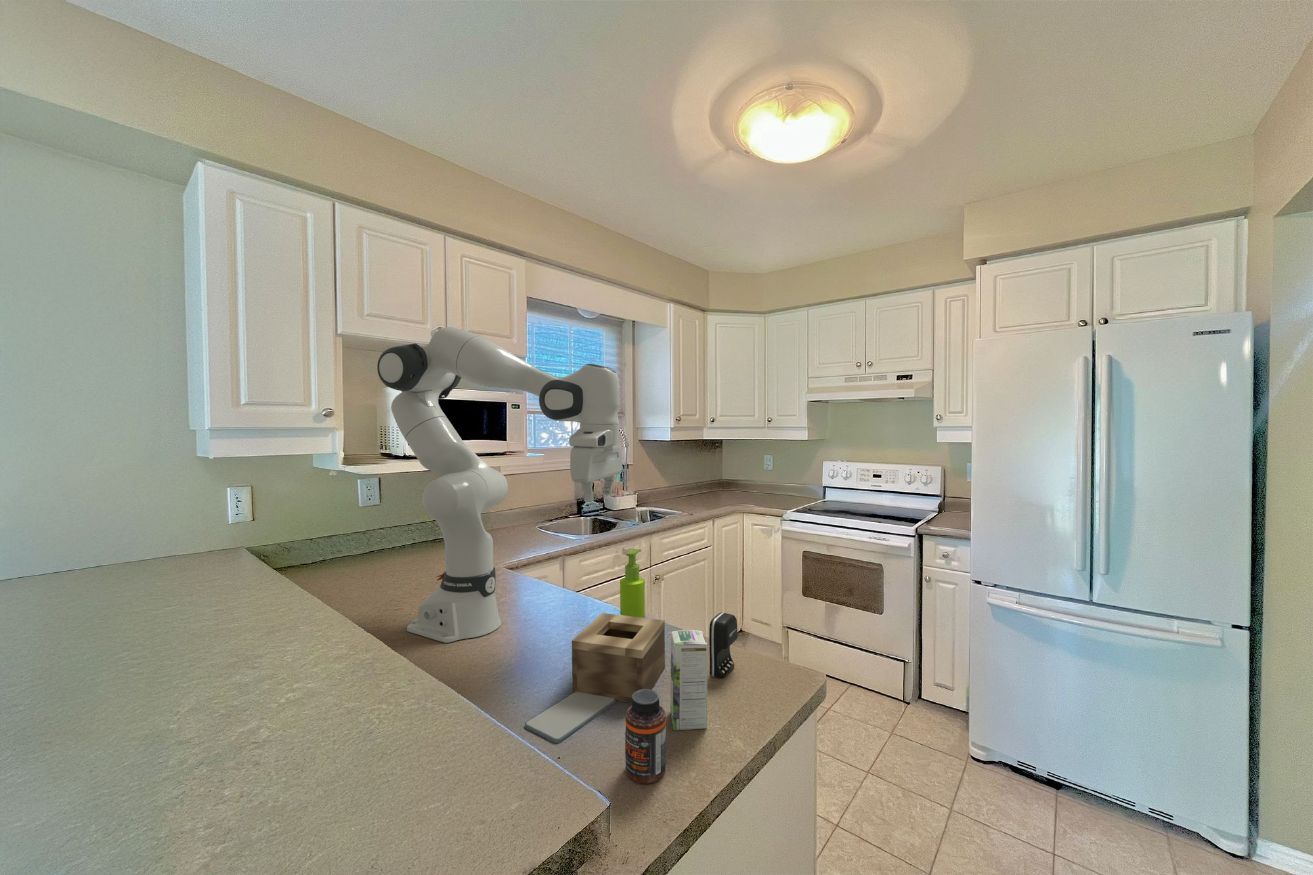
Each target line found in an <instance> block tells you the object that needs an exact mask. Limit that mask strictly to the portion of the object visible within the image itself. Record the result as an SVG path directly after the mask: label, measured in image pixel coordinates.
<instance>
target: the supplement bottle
mask: <svg viewBox="0 0 1313 875" xmlns="http://www.w3.org/2000/svg"><path fill="white" fill-rule="evenodd" d="M660 703H661V702H660V695H659V693H658V692H657V691H656V690H654V689H652V690H650V689H642V690H638V691H636V692H635V693H634V694H633V695H632V703H631V705H630V706H629V707H628V709H626V712H625V718H624V721H625V722H624V728H625V730H624V733H625V734H624V735H625V736H624V742H625V744H624V746H625V747H624V748H625V749H624V752H625V753H624V755H625V757H624V759H625V760H624V763H625V772H626V773H625V774H626V775H627V777H628V778H630V779H631V780H632V781H633V782H635V783H639V784H647V785H648V784H653V783H656V782H657V781H659V780H660V779H661V778H663V776H664V775H665V772H666V768H667V767H666V766H667V764H666V762H667V760H666V758H667V755H666V753H667V752H666V751H667V737H666V736H667V731H666V730H667V729H666V728H667V726H666V725H667V723H666V722H667V719H666V718H667V717H666V715H667V714H666V711H665V709H664V708H663V707H662V705H661V704H660Z"/></svg>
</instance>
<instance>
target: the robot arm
mask: <svg viewBox="0 0 1313 875" xmlns="http://www.w3.org/2000/svg"><path fill="white" fill-rule="evenodd" d="M376 366H377V368H376V369H377V375H378V378H379V379H380V381H381V382H382V383H383V384H384V385H385V386H386V387H388V388H390V389H393V390H396V391H400V392H399V393H398V394H397V395H396V396H395V397H394V399H393V400H392V402H391V406H390V408H391V409H390V410H391V413H392V416H393V418H394V421H395V423H396V425H397V427H398V429H399V431H400V433H401V434H402V436H403V438H404V440H405V441H406V444H408V446H409V448H410V449H411V451H412V452H413V454H414V455H415V458H416V459H417V460H418V462H419V463H420V464H421V466H422V467H424V468H425V469H427V470H428V471H431V472H433V473H434V474H436V475H438V476H439V477H437V478H435V479H434V480H431V481H430V482H429V483H428V484H427V485H426V486H425V487H424V490H423V493H422V495H421V496H422V497H421V498H422V500H421V502H422V505H423V508H424V511H425V512H426V513H427V515H428V516H429V517H431V518H432V520H433V519H434V520H435V522H437V525H438V527H439V529H440V531H441V534H442V538H443V542H444V550H445V551H444V552H445V554H444V555H445V572H443V573H442V574H440V575H438V576H436V578H437V579H436V581H437V582H438V581H439V582H440V580H441V582H440V585H439V587H438V588H436V590H434V591H433V592H432V593H431V594H429V595H428V596H427V597H426V598H425V599H423V600H422V602H421V603H420V604H419V607H418V611H417V618H415V619H414V620H412V621H411V622H409V623H408V625H407V627H406V632H408V633H411V634H414V635H419V636H422V637H425V638H428V639H431V640H435V641H437V642H440V643H452V642H456V641H458V640H464V639H470V638H477V637H481V636H485V635H487V634H489V633H492V632H494V631H496V630H497V629H499V628H500V627H501V625H502V619H501V617H500V613H499V608H498V604H497V597H496V584H497V577H496V568H495V567H494V539H493V537H492V534H490V532H488V531H486V529H485V526H484V524H483V521H482V512H486V511H489V510H492V509H493V508H495V507H497V506H498V505H499V504H500V503H502V502H503V501H504V499H506V497H507V495H508V492H509V483H508V480H507V478H506V477H505V475H504V474H503V473H502V472H500V471H499V470H497V469H495V468H492V467H491V466H490V465H488V464H487V463H486V462H485V461H484V460H483V459H482V458H480V457H479V456H478V455H477V454H476V452H474V451H473V450H472V449H471V448H470V447H469V446H468V445H467V444H466V443H465V442H464V440H462V437H461V436H460V435H459V433H458V432H457V430H456V429H455V427H454V426H453V424H452V423H451V421H450V420H449V418H448V417H447V415H446V414H445V413H444V412H443V410H442V408H441V406H440V404H439V400H443V399H446V398H447V397H448V396H449V395H450V393H451V392H452V391H453V390H454V389H455V388H456V387H457V386H458V384H459V383H460V381H461V379H463V380H465V381H468V382H469V383H473V384H476V385H478V386H484V387H488V388H493V389H494V388H495V389H510V390H518V391H522V392H527V393H530V394H532V395H534V396H537V397H538V404H539V408H540V410H541V412H542V413H543V415H544V416H545V417H546V418H548V419H550V420H553V421H557V422H577V423H579V428H578V429H577V431H575V432H574V433H573V434H571V435H570V436H569V440H568V441H569V442H568V444H569V446H570V447H572V448H571V450H570V456H569V457H570V458H569V463H570V466H569V470H570V478H571V480H572V482H573V483H579V484H580V487H581V489H582V492H583V501H584V502H585V503H591V502H594V501H595V492H594V491H593V486H594V482H595V481H599V480H602V479H603V480H604V483H603V487H602V489H601V491H602V492H601V494H602V496H604V497H605V496H608V497H609V496H611V495H612V494H613V492H612V491H613V490H612V489H613V485H614V482H615V476H616V475H620V474H622V471H623V451H622V450H623V449H622V445H621V444H620V421H619V420H620V419H619V416H618V415H619V414H618V413H619V410H620V409H619V408H620V406H621V404H620V401H621V398H620V397H621V396H620V395H621V394H620V381H619V375H618V373H617V371H616V370H614V368H611V367H608V366H604V365H599V364H594V363H587V364H584V365H583V366H581V368H579V369H578V370H576V371H574V372H573V373H571V374H567V375H566V376H563V377H557V376H556V375H554V374H551V373H549V372H546V371H544V370H542V369H539V368H537V367H534V366H533V365H532V364H530V363H527V362H526V361H525V360H523V359H521V358H519V357H518V356H516V355H514V354H513V353H512V352H510V351H508V350H506V349H505V348H504V347H502V346H500V345H498V344H497V343H496V342H493V341H491V340H490V339H487V338H486V337H484V336H480V335H479V334H477V333H474V332H471V331H468V330H465V329H462V328H457V327H452V326H451V327H450V326H446V327H442V328H439V329H438V330H437V331H435V332H434V333H433V335H432V337H430V341H429V343H428V344H426V345H424V346H421V345H419V344H418V343H410V344H403V345H397V346H393V347H389V348H388V349H385V350H384V351H383V352H382V353H381V354H380V356H379V358H378V361H377V365H376Z"/></svg>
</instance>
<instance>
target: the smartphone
mask: <svg viewBox="0 0 1313 875" xmlns="http://www.w3.org/2000/svg"><path fill="white" fill-rule="evenodd" d="M616 701H617V700H615V698H609V697H604V696H598V695H592V694H587V693H581V692H574V693H570V694H568V695H567V696H566V697H565V698H563V699H561V700H560V701H558V702H556V703H554V704H553V705H551V706H550V707H548V708H546V709H545V710H543V711H542V712H540V713H538V714H536V715H535V716H534V717H532V718H529V719H528V720H527V721H525V723H524V727H525V729H526V730H529V731H530V732H532V733H534V734H536V735H539V736H540V737H542V738H544V739H546V740H548V741H550V742H552V743H554V744H560V743H562V742H563V741H564V740H566V739H568V738H569V737H570V736H572V735H573V734H574V733H576V732H577V731H579V730H580V729H581V728H583V727H584V726H586V725H587V724H589V722H591V721H592V720H594V719H595V718H597V717H598V716H599V715H600V714H602V713H604V712H605V711H606V710H608V709H609V708H611V706H613V705H615V704H616Z"/></svg>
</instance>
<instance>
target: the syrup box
mask: <svg viewBox="0 0 1313 875" xmlns="http://www.w3.org/2000/svg"><path fill="white" fill-rule="evenodd" d="M670 637H671V638H670V642H671V643H670V646H671V647H670V718H671V724H672V728H673V730H674V731H685V730H686V731H687V730H701V729H708V673H709V672H708V671H709V670H708V661H709V657H708V653H709V652H708V650H709V649H708V648H709V647H708V646H709V644H708V642H707V639H706V637H705V634H704V632H703V631H702V630H696V629H695V630H694V629H681V630H680V629H679V630H674V631H671V635H670Z"/></svg>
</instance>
